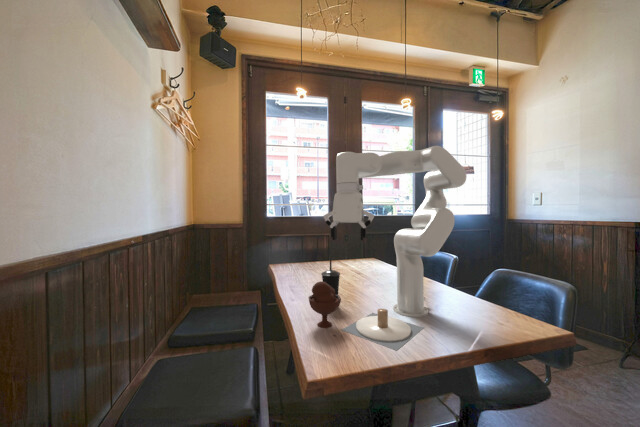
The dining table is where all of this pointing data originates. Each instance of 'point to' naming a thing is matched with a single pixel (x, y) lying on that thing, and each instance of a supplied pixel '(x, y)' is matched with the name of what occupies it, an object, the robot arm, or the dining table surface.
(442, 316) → the dining table surface
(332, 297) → the ice cream bowl
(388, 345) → the mat
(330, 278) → the drinking cup
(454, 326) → the dining table surface
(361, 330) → the lid
